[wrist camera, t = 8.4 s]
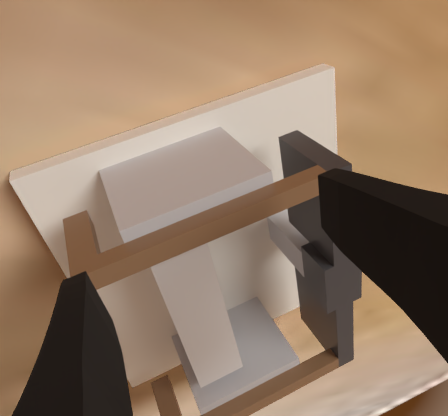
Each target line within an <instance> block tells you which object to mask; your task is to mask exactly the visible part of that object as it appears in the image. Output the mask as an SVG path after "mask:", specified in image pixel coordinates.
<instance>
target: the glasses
mask: <svg viewBox="0 0 448 416" xmlns="http://www.w3.org/2000/svg"><path fill="white" fill-rule="evenodd" d="M278 138H279V146H280V154H281V162H282V170H283V178H284V179H282V180H279V181H277V182H274V183H272V184H269V185H267V186H264V187H262V188H260V189H257V190H255V191H252V192H250V193H247V194H245V195H242V196H240V197H237V198H235V199H232V200H230V201H228V202H225V203H223V204H220V205H218V206H215V207H213V208H210V209H208V210H205V211H203V212H200V213H198V214H196V215H193V216H191V217H188V218H186V219H183V220H181V221H178V222H176V223H173V224H171V225H168V226H166V227H164V228H161V229H159V230H156V231H154V232H151V233H149V234H146V235H144V236H141V237H139V238H136V239H134V240H132V241H129V242H127V243H124V244H122V245H119V246H117V247H114V248H112V249H109V250H107V251H104V252H102V253H101V252H100V248H99V243H98V239H97V235H96V231H95V227H94V224H93V222H92V220H91V218H90V216H89V214H88V212H87V210H85V211H83V212H80V213H77V214H75V215H72V216H70V217H67V218H64V219H63V226H64V234H65V242H66V249H67V257H68V264H69V272H70V277H72V276H75V275H77V274H79V273H82V272H84V271H86V272H87V274H88V276H89V278H90V280H91V281H92V283H93V285H94V287H95V289H96V290H98V289H100V288H102V287H105V286H107V285H109V284H112V283H114V282H116V281H119V280H121V279H123V278H126V277H128V276H130V275H133V274H135V273H137V272H140V271H142V270H145V269H147V268H149V267H152V266H154V265H156V264H159V263H161V262H163V261H166V260H168V259H170V258H173V257H175V256H177V255H180V254H182V253H185V252H187V251H189V250H192V249H194V248H196V247H199V246H201V245H203V244H206V243H208V242H210V241H213V240H215V239H217V238H220V237H222V236H224V235H227V234H229V233H232V232H234V231H236V230H239V229H241V228H243V227H246V226H248V225H250V224H253V223H255V222H257V221H260V220H262V219H264V218H267V217H269V216H272V215H274V214H276V213H279V212H281V211H283V210H286V209H288V217H289V222H290V223H291V224H292V225H293V226H294V227H295V228H296V229H297V230H298V231H299V232H300V233H301V234H302V235H303V236H304V237H305V238H306V239H307V240H308V241H309V243H307V244H305V245H303V246H301V251H302V261H303V270H304V277H303V276H302V274H301V273H300V272H299V271H298V270H297V269H296V268H295V273H296V281H297V289H298V297H299V305H300V313H301V318H302V320H303V321H304V322H305V324H306V325H307V326H308V328H309V329H310V330H311V331H312V333H313V334H314V335H315V337H316V338H317V339H318V341H319V342H320V343H321V345H322V346H323V347H324V348H325V351H323V352H322V353H320V354H318V355H316V356H314V357H312V358H310V359H308V360H306V361H304V362H302V363H301V364H299V365H297V366H295V367H293V368H291V369H289V370H287V371H285V372H283V373H281V374H279V375H278V376H276V377H274V378H272V379H270V380H268V381H266V382H264V383H262V384H260V385H258V386H256V387H255V388H253V389H251V390H249V391H247V392H245V393H243V394H241V395H239V396H237V397H235V398H233V399H232V400H230V401H228V402H226V403H224V404H222V405H220V406H218V407H216V408H214V409H212V410H210V411H209V412H207V413H205V414H203V415H201V416H249V415H251V414H253V413H254V412H256V411H258V410H260V409H262V408H264V407H266V406H268V405H269V404H271V403H273V402H275V401H277V400H279V399H281V398H282V397H284V396H286V395H288V394H290V393H292V392H294V391H295V390H297V389H299V388H301V387H303V386H305V385H307V384H308V383H310V382H312V381H314V380H316V379H318V378H320V377H322V376H323V375H325V374H327V373H329V372H331V371H333V370H335V369H336V368H338V367H340V366H342V365H344V364H346V363H348V362H349V361H351V360H353V359H354V348H353V301H355V300H357V299H359V298H361V282H362V271H361V270H360V269H359V268H358V267H357V266H356V265H355V264H354V263H353V262H351V261H350V260H349V259H348V258H347V257H346V256H345V255H344V254H343V253H342V252H341V251H340V250H339V249H338V247H337V246H336V245H335V244H334V243H333V242H332V240H331V239H330V238H329V236H328V235H327V234H326V233H325V231H324V230H323V229H322V227H321V216H320V202H319V187H318V175H319V174H321V173H324V172H326V171H329V170H331V169H334V168H338V169H343V170H347V171H351V172H352V164H351V163H349V162H348V161H346V160H344V159H343V158H341V157H340V156H338V155H336V154H335V153H333V152H332V151H330V150H329V149H327V148H325V147H324V146H322V145H321V144H319V143H317V142H316V141H314V140H313V139H311V138H309V137H308V136H306V135H305V134H303V133H301V132H300V131H298V130H296V131H293V132H290V133H288V134H285V135H283V136H280V137H278ZM151 384H152V388H153V391H154V395H155V398H156V402H157V405H158V409H159V412H160V415H161V416H182V414H181V411H180V408H179V405H178V402H177V399H176V396H175V393H174V391H173V388H172V385H171V382H170V380H169V378H168V376H167V375H166V376H164V377H162V378H160V379H158V380H156V381H154V382H152V383H151Z"/></svg>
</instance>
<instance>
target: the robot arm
mask: <svg viewBox="0 0 448 416" xmlns="http://www.w3.org/2000/svg"><path fill="white" fill-rule="evenodd" d="M318 187H319V202H320V216H321V227H322V229H323V230H324V231H325V233H326V234H327V235H328V236H329V238H330V239H331V240H332V242H333V243H334V244H335V245H336V246H337V247H338V249H339V250H340V251H341V252H342V253H343V254H344V255H345V256H346V257H347V258H348V259H349V260H350V261H351V262H353V263H354V264H355V265H356V266H357V267H358V268H359V269H360V270H361V271H362V272H363V273H364V274H365V275H366V276H368V277H369V278H370V279H371V280H372V281H373V282H374V283H375V284H376V285H377V286H378V287H379V288H381V289H382V290H383V291H384V292H385V293H386V294H387V295H388V296H389V297H390V298H391V299H392V300H393V301H394V302H395V303H396V304H397V305H398V306H399V307H400V308H401V309H402V310H403V311H404V312H405V313H406V314H407V315H408V317H409V318H410V319H411V320H412V321H413V322H414V323H415V325H416V326H417V327H418V328H419V329H420V330H421V331H422V333H423V334H424V335H425V336H426V337H427V339H428V340H429V341H430V342H431V343H432V345H433V346H434V347H435V348H436V349H437V351H438V352H439V353H440V354H441V355H442V357H443V358H444V359H445V360H446V362H447V363H448V195H447V194H442V193H437V192H432V191H427V190H422V189H418V188H414V187H409V186H405V185H401V184H397V183H393V182H389V181H386V180H382V179H378V178H374V177H370V176H367V175H363V174H359V173H355V172H351V171H347V170H343V169H338V168H334V169H331V170H329V171H326V172H324V173H321V174H319V175H318ZM12 416H133V413H132V407H131V401H130V395H129V389H128V383H127V377H126V371H125V365H124V359H123V353H122V349H121V346H120V343H119V339H118V336H117V332H116V329H115V326H114V323H113V320H112V318H111V316H110V314H109V312H108V311H107V309H106V307H105V305H104V303H103V301H102V300H101V298H100V296H99V294H98V292H97V291H96V289H95V287H94V285H93V283H92V281H91V280H90V278H89V276H88V274H87V272H86V271H84V272H82V273H79V274H77V275H75V276H72V277H70V278H67V279H65V280H63V281H62V283H61V286H60V290H59V293H58V297H57V301H56V304H55V308H54V311H53V314H52V317H51V321H50V324H49V327H48V330H47V333H46V336H45V339H44V341H43V344H42V347H41V350H40V353H39V355H38V358H37V360H36V363H35V365H34V368H33V370H32V373H31V375H30V377H29V380H28V382H27V385H26V387H25V389H24V391H23V394H22V396H21V398H20V400H19V402H18V404H17V406H16V408H15V410H14V412H13V414H12Z"/></svg>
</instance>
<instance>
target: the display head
mask: <svg viewBox="0 0 448 416" xmlns="http://www.w3.org/2000/svg"><path fill="white" fill-rule="evenodd" d="M296 130H298V131H300V132H301V133H303V134H305V135H306V136H308V137H309V138H311V139H313V140H314V141H316V142H317V143H319V144H321V145H322V146H324V147H325V148H327V149H329V150H330V151H332V152H333V153H335V154H336V155H337V127H336V97H335V67H332V66H329V65H326V64H324V63H322V64H320V65H317V66H314V67H311V68H308V69H305V70H302V71H299V72H296V73H294V74H291V75H288V76H285V77H282V78H279V79H276V80H273V81H270V82H268V83H265V84H262V85H259V86H256V87H253V88H250V89H247V90H244V91H242V92H239V93H236V94H233V95H230V96H227V97H224V98H221V99H218V100H215V101H213V102H210V103H207V104H204V105H201V106H198V107H195V108H192V109H189V110H187V111H184V112H181V113H178V114H175V115H172V116H169V117H166V118H163V119H161V120H158V121H155V122H152V123H149V124H146V125H143V126H140V127H137V128H135V129H132V130H129V131H126V132H123V133H120V134H117V135H114V136H111V137H109V138H106V139H103V140H100V141H97V142H94V143H91V144H88V145H85V146H83V147H80V148H77V149H74V150H71V151H68V152H65V153H62V154H59V155H57V156H54V157H51V158H48V159H45V160H42V161H39V162H36V163H33V164H31V165H28V166H25V167H22V168H19V169H16V170H13V171H10V178H9V182H10V184H11V185H12V187H13V189H14V190H15V192H16V194H17V195H18V197H19V199H20V200H21V202H22V204H23V205H24V207H25V209H26V210H27V212H28V214H29V215H30V217H31V219H32V220H33V222H34V224H35V225H36V227H37V229H38V230H39V232H40V234H41V235H42V237H43V239H44V241H45V242H46V244H47V246H48V247H49V249H50V251H51V252H52V254H53V256H54V257H55V259H56V261H57V262H58V264H59V266H60V267H61V269H62V271H63V272H64V274H65V276H66V277H67V278H70V272H69V264H68V257H67V249H66V242H65V234H64V226H63V219H64V218H67V217H70V216H72V215H75V214H77V213H80V212H83V211H85V210H87V212H88V214H89V216H90V218H91V220H92V222H93V224H94V227H95V231H96V235H97V239H98V243H99V248H100V252H101V253H102V252H104V251H107V250H109V249H112V248H114V247H117V246H119V245H122V244H124V243H127V242H129V241H132V240H134V239H136V238H139V237H141V236H144V235H146V234H149V233H151V232H154V231H156V230H159V229H161V228H164V227H166V226H168V225H171V224H173V223H176V222H178V221H181V220H183V219H186V218H188V217H191V216H193V215H196V214H198V213H200V212H203V211H205V210H208V209H210V208H213V207H215V206H218V205H220V204H223V203H225V202H228V201H230V200H232V199H235V198H237V197H240V196H242V195H245V194H247V193H250V192H252V191H255V190H257V189H260V188H262V187H264V186H267V185H269V184H272V183H274V182H277V181H279V180H282V179H284V178H283V170H282V162H281V154H280V146H279V138H278V137H280V136H283V135H285V134H288V133H290V132H293V131H296ZM307 243H309V241H308V240H307V239H306V238H305V237H304V236H303V235H302V234H301V233H300V232H299V231H298V230H297V229H296V228H295V227H294V226H293V225H292V224H291V223H290V222H289V217H288V209H286V210H283V211H281V212H279V213H276V214H274V215H272V216H269V217H267V218H264V219H262V220H260V221H257V222H255V223H253V224H250V225H248V226H246V227H243V228H241V229H239V230H236V231H234V232H232V233H229V234H227V235H224V236H222V237H220V238H217V239H215V240H213V241H210V242H208V243H206V244H203V245H201V246H199V247H196V248H194V249H192V250H189V251H187V252H185V253H182V254H180V255H177V256H175V257H173V258H170V259H168V260H166V261H163V262H161V263H159V264H156V265H154V266H152V267H149V268H147V269H145V270H142V271H140V272H137V273H135V274H133V275H130V276H128V277H126V278H123V279H121V280H119V281H116V282H114V283H112V284H109V285H107V286H105V287H102V288H100V289H98V290H96V291H97V292H98V294H99V296H100V298H101V300H102V301H103V303H104V305H105V307H106V309H107V311H108V312H109V314H110V316H111V318H112V320H113V323H114V326H115V329H116V332H117V336H118V339H119V343H120V346H121V349H122V353H123V359H124V365H125V371H126V377H127V379H128V381H129V383H130V384H131V386H132V388H134V387H136V386H138V385H140V384H142V383H144V382H146V381H148V380H150V379H152V378H154V377H156V376H158V375H160V374H162V373H164V372H166V371H168V370H170V369H172V368H175V367H177V366H179V365H181V364H182V366H183V369H184V372H185V374H186V377H187V380H188V382H189V385H190V387H191V390H192V393H193V395H194V398H195V401H196V403H197V406H198V408H199V411H200V413H201V415H203V414H205V413H207V412H209V411H210V410H212V409H214V408H216V407H218V406H220V405H222V404H224V403H226V402H228V401H230V400H232V399H233V398H235V397H237V396H239V395H241V394H243V393H245V392H247V391H249V390H251V389H253V388H255V387H256V386H258V385H260V384H262V383H264V382H266V381H268V380H270V379H272V378H274V377H276V376H278V375H279V374H281V373H283V372H285V371H287V370H289V369H291V368H293V367H295V366H297V365H299V364H300V362H299V358H298V356H297V355H296V353H295V352H294V350H293V349H292V347H291V346H290V344H289V343H288V341H287V340H286V339H285V337H284V336H283V334H282V333H281V331H280V330H279V328H278V327H277V325H276V324H275V322H274V321H273V319H275V318H277V317H279V316H281V315H283V314H285V313H287V312H289V311H291V310H293V309H295V308H298V307H300V305H299V297H298V289H297V281H296V273H295V268H296V269H297V270H298V271H299V272H300V273H301V274H302V276H303V277H304V270H303V261H302V251H301V246H303V245H305V244H307Z"/></svg>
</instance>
